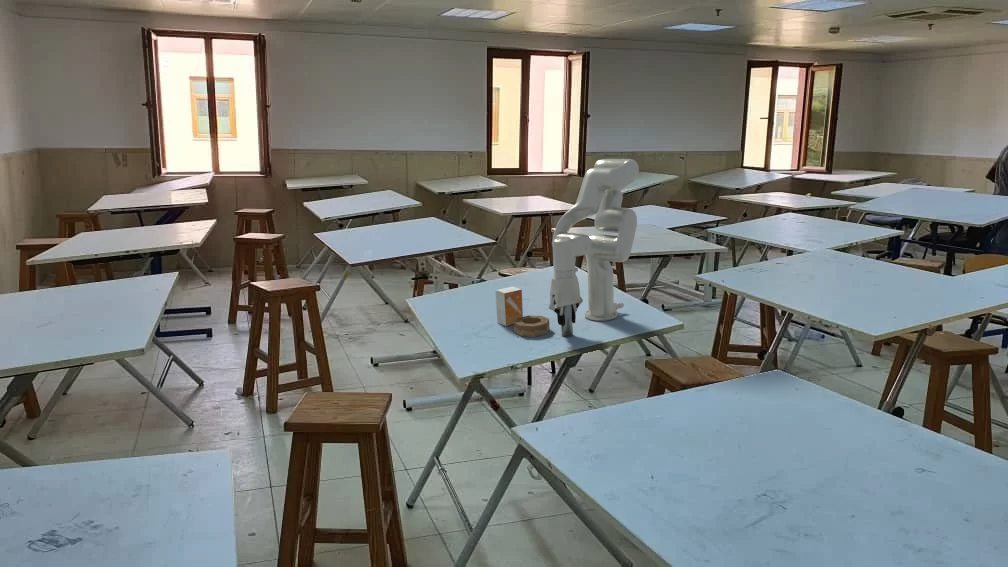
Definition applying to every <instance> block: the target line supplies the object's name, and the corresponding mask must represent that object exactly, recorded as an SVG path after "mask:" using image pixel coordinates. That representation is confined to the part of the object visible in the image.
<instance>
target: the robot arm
mask: <svg viewBox="0 0 1008 567" xmlns="http://www.w3.org/2000/svg"><path fill="white" fill-rule="evenodd" d="M639 171H640V168H639V164H638V163H637V161H636V160H634V159H631V158H603V159H598V160H597V161H596V162H595V163H594V166H593V168H592V167H591V168H589V169H587V171H585V173H584V175H583V179H582V183H581V186H580V189H579V192H578V195H577V198H576V201H575V204H574V205H572V207H570V208H569V209H568V210H567V211H566V212H565V213H564V214H563V215H562V216H561V217H560V219H559V220H558V222H557V224H556V226H555V228H554V232H553V235H552V240H551V246H552V260H553V262H552V264H553V277H552V278H551V281H550V293H549V302H550V303H549V305H548V309H549V310H551V311H553V312H554V313H555V314H557V315H556V316H557V318H556V320H557V324H558V325H560V327H561V326H564V325H565V321H564V315H563V308H564V306H567V305H572V324H576V319H577V318H576V315H577V314H576V313H577V311H578V308H579V307H580V305H581V304H582V303H583V301H584V300H583V298H582V296H581V292H580V290H581V289H580V283H579V278H578V276H577V274H576V273H577V272H578V271H579V268H578V267H576V257H580V256H581V257H582V256H585V259H586V267H587V291H588V292H587V294H588V295H587V296H588V298H587V302H588V310H587V311H585V312H584V317H585V318H586V319H587V320H591V321H600V322H603V321H611V320H615V319H616V318H618V317H619V312H618V311H617V310H618V309H623V308H624V307H625V304H624V303H623V302H619V303H617V302H614V301H615V300H614V293H615V292H614V270H613V266H612V265H611V263H610V262H614V263H615V262H617V263H623V262H626V261H628V260H629V258H630V256H631V253H632V249H633V244H634V240H635V235H636V232H637V225H638V216H637V214H636V211H635V210H633V208H628V207H622V204H623V198H624V196H623V193H622V190H624V189H625V188H627V187H628V186H630V185H631V184H632V183H634V182H635V181H636V180H637V178H638V176H639V173H640V172H639ZM594 215H595V216H594ZM592 216H594V228H595V230H597V231H598V232H601V234H597V233H595V234H592V235H588V234H586V233H585V234H584V233H575V232H569V231H570V229H571V228H572V227H573V226H574V225H575V224H576V223H578V222H580V221H583V220H585V219H588V218H591V217H592ZM602 233H607V234H602ZM608 233H610V234H608ZM611 233H612V234H617V235H612V234H611Z"/></svg>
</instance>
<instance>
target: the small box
mask: <svg viewBox="0 0 1008 567" xmlns="http://www.w3.org/2000/svg"><path fill="white" fill-rule="evenodd" d="M522 293H523V290H522V289H521V288H520V287H516V286H509V287H502V288H500V289H496V290H495V306H496V307H495V308H496V309H495V310H496V322H497V324H500V325H502V326H505V327H507V326H512V325H514V322H515V320H516V319H517V318H520V317H524V315H523V314H524V312H523V311H524V310H523V308H524V307H523V294H522Z"/></svg>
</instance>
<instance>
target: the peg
mask: <svg viewBox="0 0 1008 567" xmlns="http://www.w3.org/2000/svg"><path fill="white" fill-rule="evenodd" d="M563 315H564V321H565V325H564V326H561V325H560V329H561V330H560V332H561V337H562V336H563V337H572V336H574V330H573V328H574V327H573V326H574V325H573V324H574V323H572V305H567V306H564V308H563Z"/></svg>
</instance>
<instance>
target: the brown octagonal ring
mask: <svg viewBox="0 0 1008 567" xmlns="http://www.w3.org/2000/svg"><path fill="white" fill-rule="evenodd" d="M513 330H514V334H516V335H519V336H520V337H530V338H531V337H532V338H533V337H534V338H535V337H540V336H543V335H548V333H549V331H550V318H547V317H545V316H543V315H525V316H524V315H523V317H520V318H517V319H516V320H515V322H514V324H513Z"/></svg>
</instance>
